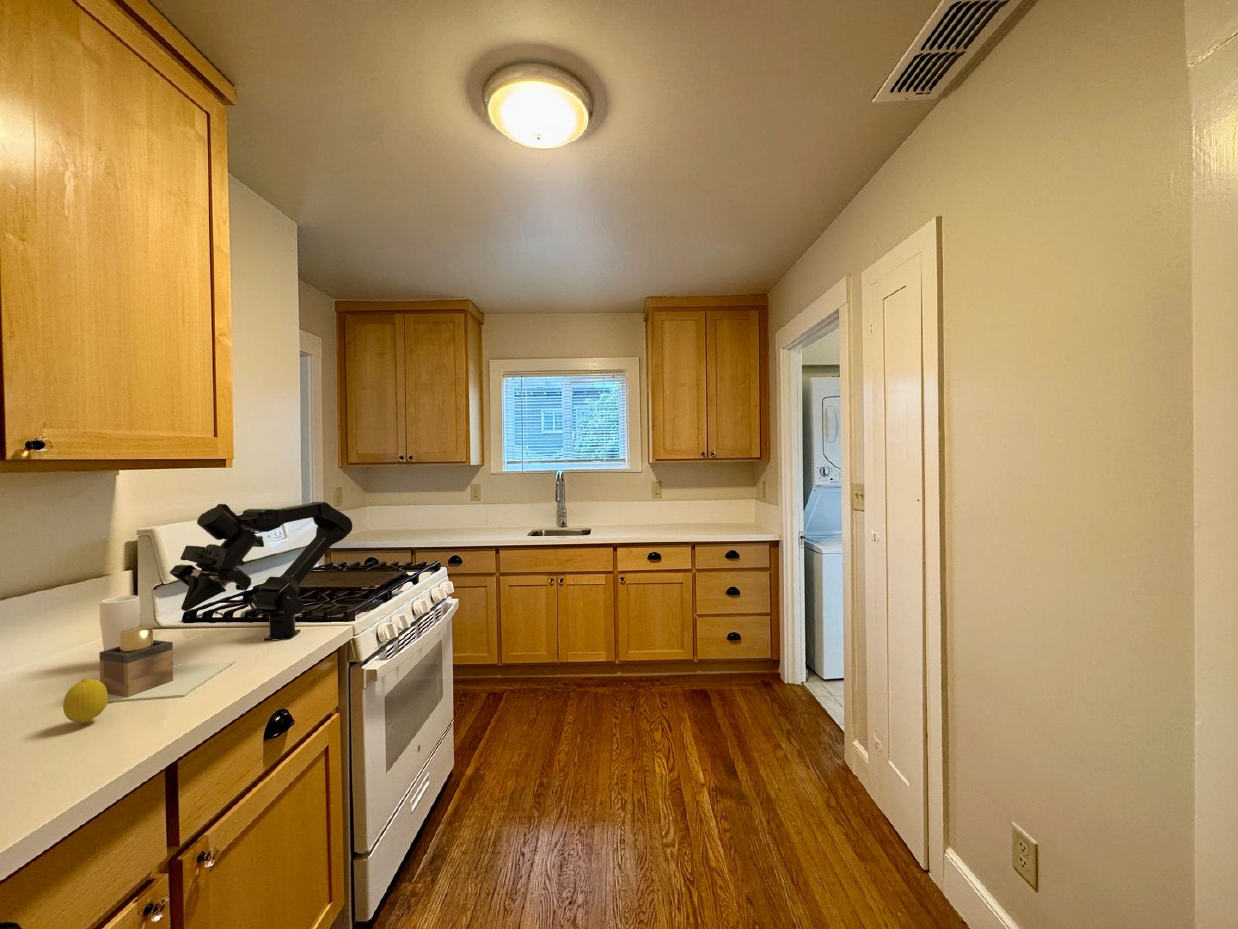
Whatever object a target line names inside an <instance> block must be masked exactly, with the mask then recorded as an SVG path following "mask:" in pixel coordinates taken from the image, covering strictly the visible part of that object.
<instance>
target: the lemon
mask: <svg viewBox="0 0 1238 929" xmlns="http://www.w3.org/2000/svg"><path fill="white" fill-rule="evenodd" d="M107 701H108V693H107V689H106V687H105V685H104V684H103V683H102V682H100V680H97V679H90V678H88V677H87V678H83V679H82V680H81V681H79V682H77V683H75V684H73V685H72V686H71V687H70V688H69V689H68V691H67V692H66V694H65V696H64V699H63V704H62V708H63V714H64V715H65V717H66V719H68V720H69V721H72V722H73V723H81V724H82V725H88V724H89V723H91V721H92V720H93V719H95V718H97V717H98V716H100V715H101V714H102V712H103V711H104V710H105V708H106V707H107V704H108V702H107Z"/></svg>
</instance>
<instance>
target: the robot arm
mask: <svg viewBox="0 0 1238 929" xmlns="http://www.w3.org/2000/svg"><path fill="white" fill-rule="evenodd" d="M306 519H307V520H308V519H312V520H313V523H314V524H315V525H316V526H317V527H316V530H315V531H316V532H315V537H314V538H313V539H312V540H311V542H310V543H308V545H307V546H305V548H304V549H303V551H302V552H301V553H300V554H299V555H298V556H297V557H296V559H295V560H294V561H293V562H292V563H291V564H290V566H288V568H287V569H286V570H285V571H284V573H282V574H281V575H280V576H269V577H268V578H267V579H266V581H264V584H262V585H261V586H259V587H258V592H257V593H256V596H255V598H256V599H255V602H256V605H257V606H258V608H259V610H260V612H261V614H262V615H269V618H268V619H269V620H268V621H269V634H268V635H266V636H265V637H264V638H263V641H273V640H272V639H279V640H289V638H290V639H293V637H295V636H296V635H298V634H299V633H301V629H296V615H298V614H299V613H302V612H303V609H304V605H305V604H304V602H303V601H301V599H300V598H298V596H299V591H300V584H302V582H303V581H304V579H305V578H306V577H307V576H308V574H309V573H311V571H312V570H313V569H314V567H315V566H316V565H317V564H318V562H319V561H320V560H321V559H322V557H323V556H324V555H325V554H326V553H327V552H328V550H330V548H331V547H332V546H333V545H335V544H337V543H338V542H341V541H342V540H344V539H345V538H346V537H347V536H348V535H349V534H351V532H352V530H353V522H352V520H351V518H350V517H348V516H346V514H344V513H343V512H341V511H340V510H338V509H335V508H334V507H333V506H332V505H330V503H328V502H325V501H312V502H310V503H304V504H299V505H294V506H293V505H292V506H286V507H281V508H275V509H274V508H248V509H245V510H244V511H243V510H242V513H241V514H238V515H237V514H236V513H235V512H234V511H233V510H232V509H231V508H230V506H229V505H228V504H227V503H218V504H217V505H216V506H214V507H213V508H210V509H208V510H207V511H205V512H203V513H201V514H200V516H199V517H198V518H197V521H196V524H197V526H199V527H200V528H202V530H204V531H205V532H206V533H208V534H209V535H210V536H211V537H213V539H215V540H217V541H221V540H224V541H223V542H222V543H221V544H220V545H218V544H214V543H213V544H211V543H208V544H207V545H206V546H200V545H185V547H184V549H183V552H182V553H181V556H180V558H179V560H181V561H188V562H192V563H195V566H196V567H195V566H194V565H192V564H177V565H174V566H173V568H172V569H171V570H170V571H169V574H170V575H171V576H173V577H174V578H176V579H177V580H178V581H180V582H181V583H182V584H184V585H185V586H188V589H187V592H186V595H185V598H184V599H183V601H182V602H183V603H182V605H181V607H180V609H181V610H182V611H183V612H188V611H190V610H192V609H194V608H196V607H197V606H200V605H201V604H202V603H204V602H206V601H209V600H210V599H212V598H214V597H216V596H217V595H220V594H222V593H226V592H227V589H226V587H227V586H228V585H229V584H231V583H235V584H236V585H235V590H236V591H247V590H248V589H249V587H250V586H251V585H252V578H251V577H250V576H249V575H248V574H246V573H245V572H244V571H243V570H242V569H240V568H239V567H243V566H245V564H246V561H244V559H245V558H246V556H247V555H248V554H249V552H250V551H252V549H253V548H264V547H265V542H264V540H263V538H264V536H262V535H256V534H255V533H254V532H257V533H260V532H261V533H262V532H263V533H266V532H267V533H268V532H271V531H274V530H276V529H279V528H280V527H282V526H283V525H285V524H287V523H292V522H297V521H302V520H306ZM238 566H239V567H238ZM298 632H299V633H298ZM297 633H298V634H297ZM295 634H296V635H295ZM294 635H295V636H294Z"/></svg>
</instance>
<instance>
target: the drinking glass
mask: <svg viewBox="0 0 1238 929" xmlns="http://www.w3.org/2000/svg"><path fill="white" fill-rule="evenodd" d="M140 621H141V598H140V596H139V595H135V594H134V595H122V596H121V595H120V596H115V597H109V598H105V599H103V600H101V601H100V602H99V623H100V631H101V632H100V633H101V638H102V646H103V651H105V650H109V649H112V648H116V647H119V646H120V632H121V631H123V630H126V629H130V628H135V627H140Z"/></svg>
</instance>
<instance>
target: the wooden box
mask: <svg viewBox="0 0 1238 929" xmlns="http://www.w3.org/2000/svg"><path fill="white" fill-rule="evenodd" d="M173 647H174V643H173V642H172V641H165V640H157V639H153V647H150V648H146V649H143V650H140V651H136V652H133V653H124V652H120V646H119V647H116V648H112V649H109V650H105V651H104V650H102V651H99V654H98V655H99V681H100V682H102V683H103V684H104V685H105V687H106V689H107V693H108V694H110V695H117V696H123V697H131V696H133V695H136V694H139V693H141V692H144V691H147V690H150V689H152V688H155V687H158V686H160V685H163V684H166V683H169V682H171V681H173V665H174V655H173V654H174V650H173V649H174V648H173Z"/></svg>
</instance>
